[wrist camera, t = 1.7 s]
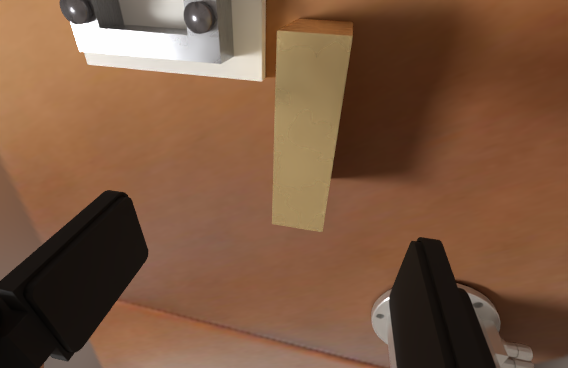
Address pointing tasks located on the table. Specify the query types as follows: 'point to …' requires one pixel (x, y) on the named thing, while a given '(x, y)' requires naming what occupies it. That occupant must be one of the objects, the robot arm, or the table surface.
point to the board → (170, 14)
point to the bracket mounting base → (154, 31)
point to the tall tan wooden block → (307, 117)
